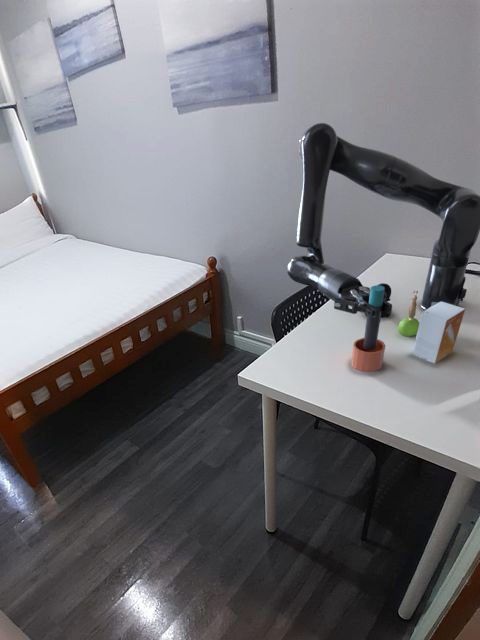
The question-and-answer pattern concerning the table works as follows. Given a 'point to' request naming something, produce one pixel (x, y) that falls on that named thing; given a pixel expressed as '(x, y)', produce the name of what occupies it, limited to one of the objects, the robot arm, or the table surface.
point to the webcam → (388, 292)
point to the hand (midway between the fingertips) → (383, 311)
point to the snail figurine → (410, 320)
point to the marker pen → (371, 322)
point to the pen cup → (367, 356)
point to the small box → (438, 331)
